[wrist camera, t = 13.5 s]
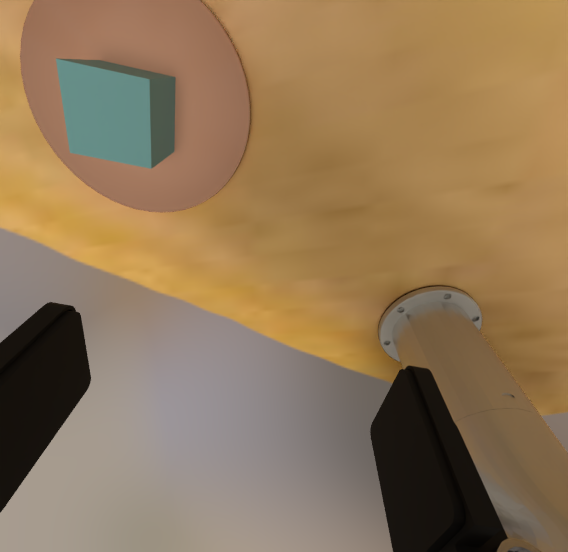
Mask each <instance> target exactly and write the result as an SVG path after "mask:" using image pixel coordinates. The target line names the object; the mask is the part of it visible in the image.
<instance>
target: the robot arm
mask: <svg viewBox="0 0 568 552" xmlns="http://www.w3.org/2000/svg"><path fill="white" fill-rule="evenodd" d="M481 326H482V314H481V310H480V308H479V307H478V305H477V303H476V302H475V301H474V300H473V299H472V298H471V297H470V296H469V295H468V294H467V293H465V292H463V291H461V290H459V289H455V288H451V287H443V286H436V287H427V288H423V289H419V290H416V291H413V292H411V293H408V294H407V295H405V296H403V297H401V298H400V299H398V300H397V301H396V302H394V303H393V304H392V305H391V306H390V307H389V308H388V309H387V310H386V312H385V313H384V315H383V316H382V318H381V321H380V323H379V329H378V335H379V340H380V343H381V346H382V347H383V349H384V351H385V352H386V353H387V354H388V355H389V356H390V357H392V358H393V359H395V360H397V361H399V362H401V364H402V367H403V369H401V370H400V371H399V373H398V375H397V377H396V378H395V380H394V382H393V384H392V386H391V388H390V390H389V392H388V394H387V396H386V398H385V400H384V402H383V404H382V405H381V407H380V409H379V411H378V413H377V415H376V417H375V419H374V421H373V422H372V425H371V440H372V445H373V450H374V456H375V461H376V466H377V471H378V476H379V481H380V486H381V491H382V497H383V502H384V507H385V512H386V517H387V522H388V527H389V533H390V537H391V543H392V548H393V552H568V452H567V451H566V450H565V448H564V447H563V446H562V444H561V443H560V442H559V440H558V439H557V438H556V436H555V435H554V433H553V432H552V431H551V429H550V428H549V426H548V425H547V424H546V422H545V421H544V420H543V418H542V417H541V415H540V414H539V413H538V411H537V410H536V409H535V407H534V406H533V404H532V403H531V402H530V400H529V399H528V397H527V396H526V395H525V393H524V392H523V391H522V389H521V388H520V386H519V385H518V384H517V382H516V381H515V379H514V378H513V377H512V375H511V374H510V373H509V371H508V370H507V368H506V367H505V366H504V364H503V363H502V362H501V360H500V359H499V357H498V356H497V355H496V353H495V352H494V350H493V349H492V348H491V346H490V345H489V344H488V342H487V341H486V339H485V338H484V337H483V335H482V334H481V332H480V329H481ZM90 381H91V375H90V369H89V363H88V357H87V351H86V345H85V339H84V332H83V326H82V321H81V315H80V313H78V312H76V310H75V308H74V307H73V306H70V305H64V304H58V303H52V302H50V303H47V304H45V305H44V306H43V307H42V308H41V309H39V310H38V311H37V312H36V313H35V314H34V315H32V316H31V317H30V318H29V319H28V320H27V321H25V322H24V323H23V324H22V325H21V326H20V327H18V329H16V330H15V331H14V332H13V333H11V334H10V335H9V336H8V337H7V338H6V339H4V340H3V341H2V342H1V343H0V512H1V511H2V510H3V508H4V507H5V506H6V504H7V503H8V501H9V500H10V499H11V497H12V496H13V494H14V493H15V491H16V490H17V489H18V487H19V486H20V485H21V483H22V482H23V480H24V478H25V477H26V476H27V474H28V473H29V472H30V470H31V469H32V467H33V466H34V464H35V463H36V462H37V460H38V459H39V457H40V456H41V455H42V453H43V452H44V450H45V449H46V448H47V446H48V445H49V443H50V442H51V440H52V439H53V438H54V436H55V434H56V433H57V432H58V430H59V429H60V428H61V426H62V425H63V423H64V422H65V421H66V419H67V418H68V416H69V415H70V413H71V412H72V410H73V409H74V408H75V406H76V405H77V403H78V402H79V401H80V399H81V398H82V396H83V395H84V394H85V392H86V391H87V389H88V387H89V384H90Z"/></svg>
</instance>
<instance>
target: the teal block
mask: <svg viewBox="0 0 568 552" xmlns="http://www.w3.org/2000/svg"><path fill="white" fill-rule="evenodd" d="M56 64H57V70H58V77H59V84H60V90H61V97H62V104H63V110H64V117H65V124H66V130H67V137H68V144H69V150H70V153H74V154H79V155H84V156H89V157H94V158H99V159H104V160H109V161H114V162H119V163H124V164H130V165H135V166H140V167H145V168H150V169H152V168H153V167H155V166H156V165H157V164H159V163H160V162H161V161H163V160H164V159H165V158H167V157H168V156H169V155H171V154H172V153H173V152H174V145H175V80H176V77H173V76H168V75H164V74H160V73H155V72H151V71H146V70H142V69H137V68H133V67H128V66H124V65H119V64H115V63H110V62H106V61H101V60H81V59H56Z"/></svg>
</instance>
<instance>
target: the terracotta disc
mask: <svg viewBox="0 0 568 552" xmlns="http://www.w3.org/2000/svg"><path fill="white" fill-rule="evenodd" d="M56 59H81V60H101V61H106V62H110V63H115V64H119V65H124V66H128V67H133V68H137V69H142V70H146V71H151V72H155V73H160V74H164V75H168V76H173V77H176V80H175V145H174V152H173V153H172V154H171V155H169V156H168V157H167V158H165V159H164V160H163V161H161V162H160V163H159V164H157V165H156V166H155V167H153V168H152V169H150V168H145V167H140V166H135V165H130V164H124V163H119V162H114V161H109V160H104V159H99V158H94V157H89V156H84V155H79V154H74V153H70V150H69V144H68V137H67V130H66V124H65V117H64V110H63V104H62V97H61V90H60V84H59V77H58V70H57V64H56ZM20 60H21V73H22V79H23V84H24V89H25V93H26V96H27V99H28V103H29V106H30V109H31V111H32V113H33V116H34V118H35V120H36V123H37V125H38V126H39V128H40V130H41V132H42V134H43V136H44V137H45V139H46V140H47V142H48V143H49V145H50V146H51V148H52V149H53V151H54V152H55V153H56V155H57V156H58V157H59V158H60V159H61V161H62V162H63V163H64V164H65V165H66V166H67V167H68V168H69V169H70V170H71V171H72V172H73V173H74V174H75V175H76V176H77V177H78V178H79V179H81V180H82V181H83V182H84V183H85V184H87V185H88V186H89V187H91V188H92V189H94V190H95V191H97V192H98V193H100V194H102V195H103V196H105V197H107V198H109V199H111V200H113V201H115V202H117V203H120V204H122V205H125V206H128V207H131V208H134V209H138V210H144V211H149V212H174V211H180V210H185V209H188V208H191V207H194V206H196V205H198V204H200V203H202V202H204V201H206V200H208V199H209V198H211V197H212V196H213V195H215V194H216V193H217V192H218V191H219V190H220V189H221V188H223V187H224V186H225V184H226V183H227V182H228V181H229V179H230V178H231V177H232V175H233V174H234V172H235V170H236V168H237V167H238V165H239V163H240V161H241V158H242V156H243V154H244V151H245V148H246V144H247V141H248V137H249V129H250V116H251V106H250V97H249V89H248V85H247V80H246V76H245V72H244V69H243V66H242V64H241V61H240V58H239V56H238V54H237V51H236V49H235V47H234V45H233V43H232V41H231V39H230V38H229V36H228V34H227V33H226V31H225V29H224V28H223V26H222V25H221V23H220V22H219V21H218V20H217V18H216V17H215V16H214V14H213V13H212V12H211V11H210V10H209V9H208V8H207V6H206V5H205V4H204V3H203V2H202V1H201V0H34V1H33V3H32V5H31V7H30V9H29V11H28V14H27V17H26V20H25V23H24V27H23V33H22V38H21V52H20Z"/></svg>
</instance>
